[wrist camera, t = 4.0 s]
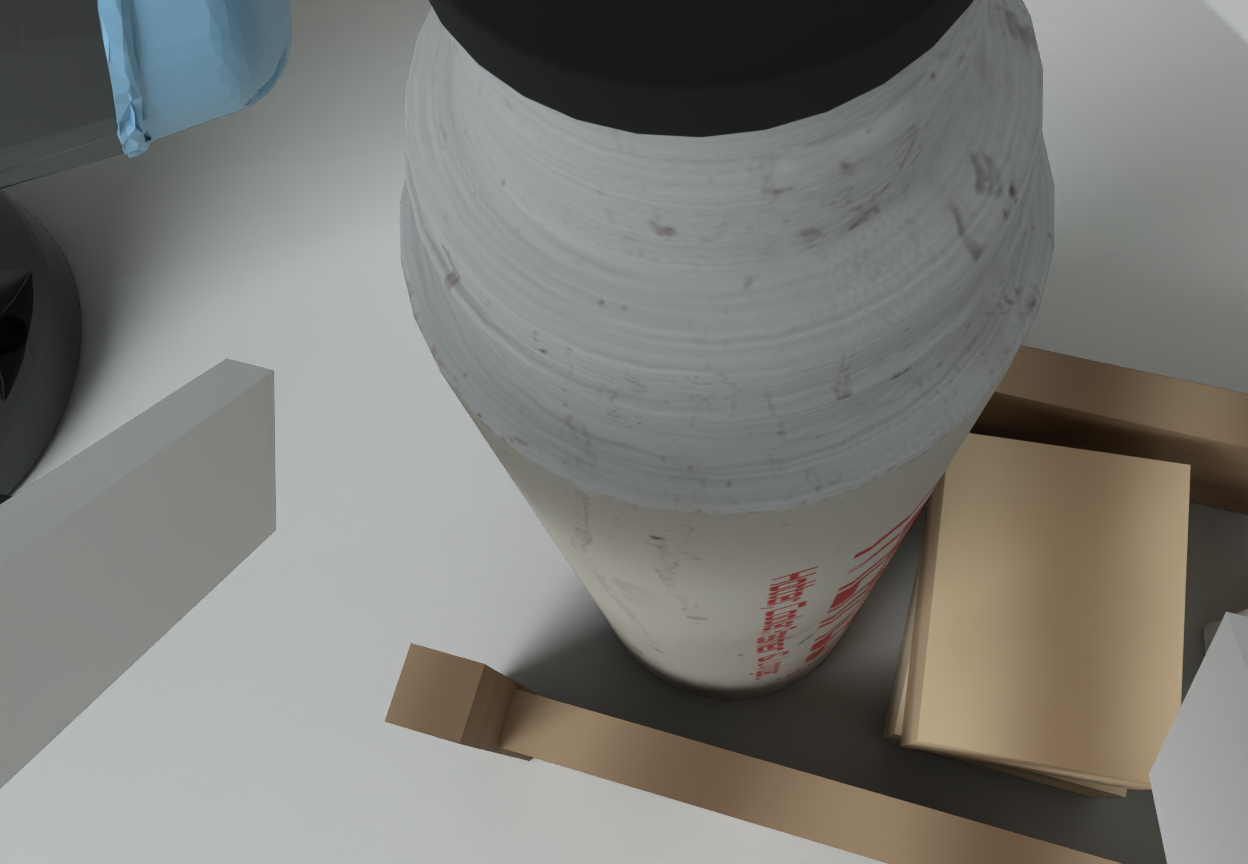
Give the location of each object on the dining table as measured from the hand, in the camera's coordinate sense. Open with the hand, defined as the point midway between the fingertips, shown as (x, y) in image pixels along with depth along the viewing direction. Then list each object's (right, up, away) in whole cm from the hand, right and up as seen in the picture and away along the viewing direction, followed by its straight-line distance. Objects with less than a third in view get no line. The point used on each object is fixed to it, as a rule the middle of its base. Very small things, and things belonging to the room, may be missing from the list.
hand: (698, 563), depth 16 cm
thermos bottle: (+2, -2, +19) cm, 20 cm away
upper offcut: (+10, -3, +15) cm, 19 cm away
